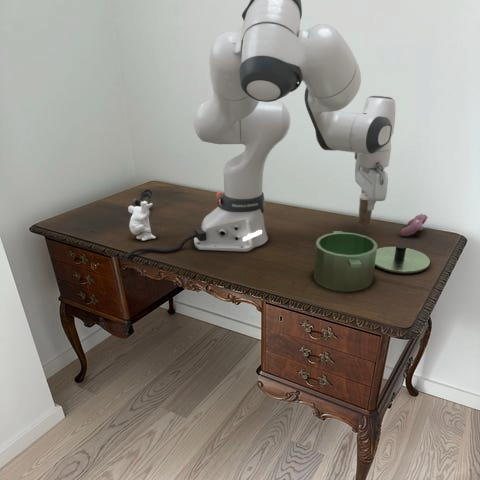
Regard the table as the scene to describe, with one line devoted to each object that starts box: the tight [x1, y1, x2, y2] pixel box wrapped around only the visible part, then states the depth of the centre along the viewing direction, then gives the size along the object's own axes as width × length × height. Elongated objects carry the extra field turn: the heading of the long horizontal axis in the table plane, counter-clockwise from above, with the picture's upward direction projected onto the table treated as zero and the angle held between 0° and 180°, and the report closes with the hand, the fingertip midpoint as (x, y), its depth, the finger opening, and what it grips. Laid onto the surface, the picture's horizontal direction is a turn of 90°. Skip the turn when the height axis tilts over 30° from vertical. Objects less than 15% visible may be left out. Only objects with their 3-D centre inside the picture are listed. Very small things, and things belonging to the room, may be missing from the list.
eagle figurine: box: [131, 188, 153, 210], centre depth 167 cm, size 8×7×9 cm
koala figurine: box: [127, 201, 157, 242], centre depth 142 cm, size 8×7×12 cm
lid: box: [375, 243, 431, 274], centre depth 125 cm, size 16×16×5 cm
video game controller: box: [399, 213, 429, 237], centre depth 142 cm, size 10×5×7 cm, turn 148°
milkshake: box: [358, 193, 373, 226], centre depth 139 cm, size 5×5×10 cm
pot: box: [313, 230, 379, 293], centre depth 117 cm, size 15×20×10 cm
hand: (367, 206), depth 139 cm, fingers closed on milkshake, 4 cm apart
